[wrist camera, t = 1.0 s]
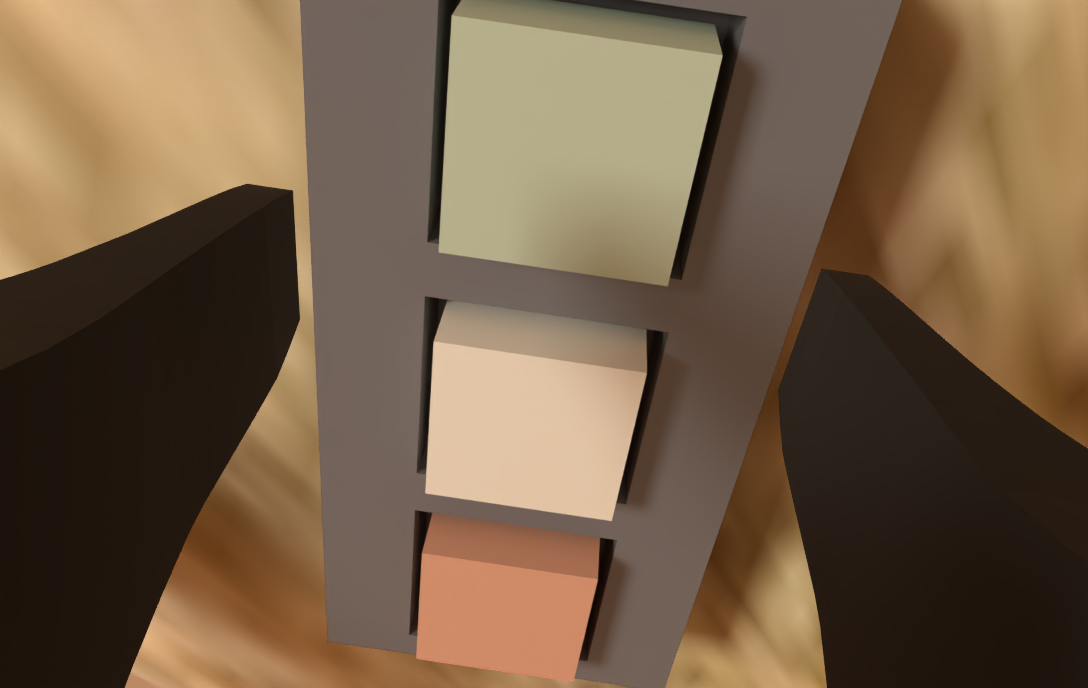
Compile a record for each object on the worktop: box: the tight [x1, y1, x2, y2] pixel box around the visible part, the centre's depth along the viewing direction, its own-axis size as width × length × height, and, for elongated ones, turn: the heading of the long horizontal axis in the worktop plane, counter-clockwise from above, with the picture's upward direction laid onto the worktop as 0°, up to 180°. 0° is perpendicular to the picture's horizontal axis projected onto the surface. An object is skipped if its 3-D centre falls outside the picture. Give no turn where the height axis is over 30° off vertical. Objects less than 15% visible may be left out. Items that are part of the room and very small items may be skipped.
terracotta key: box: [416, 513, 600, 682], centre depth 24 cm, size 4×4×2 cm
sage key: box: [439, 0, 723, 286], centre depth 16 cm, size 4×4×2 cm
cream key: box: [425, 300, 647, 521], centre depth 20 cm, size 4×4×2 cm
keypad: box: [300, 0, 902, 688], centre depth 21 cm, size 10×20×3 cm, turn 173°
